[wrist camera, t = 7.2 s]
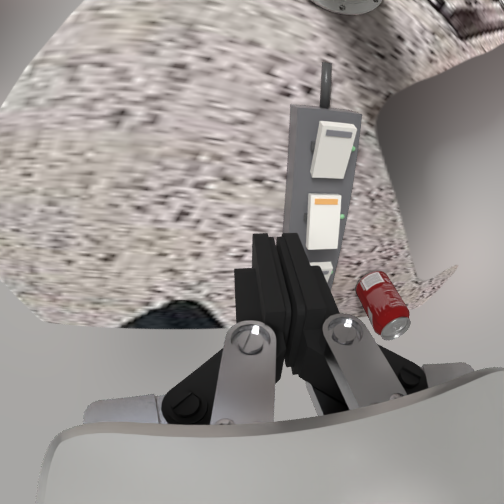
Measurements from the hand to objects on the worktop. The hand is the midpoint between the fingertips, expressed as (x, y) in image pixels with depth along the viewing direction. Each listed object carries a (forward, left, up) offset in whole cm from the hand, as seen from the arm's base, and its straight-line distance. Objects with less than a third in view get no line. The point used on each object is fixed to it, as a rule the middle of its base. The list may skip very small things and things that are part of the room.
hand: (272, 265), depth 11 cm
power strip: (+7, +10, -27) cm, 30 cm away
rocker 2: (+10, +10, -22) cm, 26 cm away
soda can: (+26, +24, -27) cm, 45 cm away
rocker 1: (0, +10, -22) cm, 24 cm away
